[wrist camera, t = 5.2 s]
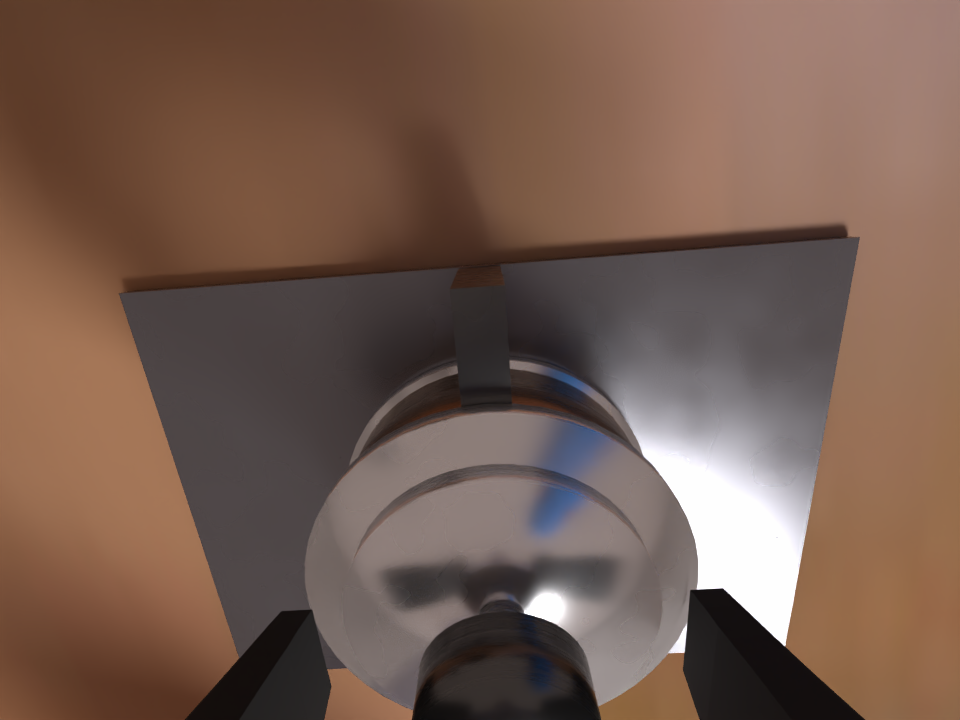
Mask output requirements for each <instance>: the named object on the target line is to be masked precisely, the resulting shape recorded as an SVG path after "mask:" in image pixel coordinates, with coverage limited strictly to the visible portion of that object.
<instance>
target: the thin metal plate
mask: <svg viewBox="0 0 960 720" xmlns="http://www.w3.org/2000/svg"><path fill="white" fill-rule="evenodd" d="M859 238H860V237H837V238H824V239H811V240H798V241H785V242H772V243H758V244H745V245H732V246H719V247H706V248H693V249H680V250H666V251H653V252H640V253H627V254H614V255H601V256H588V257H574V258H561V259H548V260H535V261H522V262H509V263H495V264H482V265H469V266H456V267H443V268H430V269H417V270H403V271H390V272H377V273H364V274H351V275H338V276H325V277H311V278H298V279H285V280H272V281H259V282H246V283H233V284H219V285H206V286H193V287H180V288H167V289H154V290H140V291H128V292H124V293H119V295H120V298H121V301H122V304H123V307H124V310H125V313H126V316H127V319H128V322H129V325H130V328H131V332H132V335H133V338H134V341H135V344H136V347H137V350H138V353H139V356H140V359H141V362H142V365H143V368H144V371H145V374H146V377H147V380H148V383H149V386H150V389H151V392H152V395H153V398H154V401H155V404H156V407H157V410H158V413H159V416H160V419H161V422H162V425H163V428H164V431H165V434H166V437H167V440H168V444H169V447H170V450H171V453H172V456H173V459H174V462H175V465H176V468H177V471H178V474H179V477H180V480H181V483H182V486H183V489H184V492H185V495H186V498H187V501H188V504H189V507H190V510H191V513H192V516H193V519H194V522H195V525H196V528H197V531H198V534H199V537H200V540H201V543H202V546H203V549H204V552H205V556H206V559H207V562H208V565H209V568H210V571H211V574H212V577H213V580H214V583H215V586H216V589H217V592H218V595H219V598H220V601H221V604H222V607H223V610H224V613H225V616H226V619H227V622H228V625H229V628H230V631H231V634H232V637H233V640H234V643H235V646H236V649H237V652H238V655H239V658H240V657H241V656H242V655H243V654H244V653H245V651H246V650H247V649H248V648H249V647H250V646H251V645H252V643H253V642H254V641H255V640H256V639H257V638H258V637H259V635H260V634H261V633H262V632H263V631H264V630H265V629H266V627H267V626H268V625H269V624H270V623H271V622H272V621H273V620H274V619H275V617H276V616H277V615H278V614H279V613H280V612H281V611H292V610H311V609H312V611H313V615H314V619H315V623H316V627H317V631H318V635H319V639H320V643H321V647H322V651H323V655H324V659H325V663H326V667H327V669H341V668H348V669H349V670H350V671H351V672H352V673H353V674H354V675H355V676H357V677H358V678H359V679H360V680H361V681H363V682H364V683H365V684H366V685H368V686H369V687H371V688H372V689H374V690H375V691H377V692H378V693H380V694H381V695H383V696H384V697H386V698H388V699H390V700H392V701H394V702H396V703H398V704H400V705H402V706H404V707H406V708H409V709H411V710H413V709H414V708H412V707H410V706H408V705H407V704H405V703H403V702H402V701H400V700H399V699H397V698H396V697H394V696H393V695H391V694H390V693H389V692H387V691H386V690H385V689H384V688H383V687H381V686H380V685H379V684H378V683H377V682H376V681H375V680H374V679H373V678H372V677H371V676H370V674H369V673H368V672H367V671H366V670H365V669H364V667H363V666H362V664H361V663H360V661H359V660H358V658H357V657H356V655H355V653H354V651H353V649H352V647H351V645H350V643H349V640H348V637H347V634H346V630H345V627H344V620H343V613H342V602H343V591H344V586H345V581H346V577H347V575H348V572H349V569H350V567H351V564H352V561H353V559H354V556H355V553H356V551H357V548H358V546H359V543H360V540H361V539H362V537H363V535H364V534H365V532H366V530H367V529H368V527H369V525H370V524H371V523H372V522H373V520H374V519H375V518H376V517H377V516H378V514H379V513H380V512H381V511H382V510H383V509H384V508H385V507H386V506H387V505H389V504H390V503H391V502H392V501H393V500H394V499H395V498H397V497H398V496H400V495H401V494H403V493H404V492H405V491H407V490H408V489H410V488H412V487H414V486H415V485H417V484H419V483H421V482H423V481H425V480H427V479H429V478H432V477H435V476H438V475H440V474H443V473H446V472H449V471H453V470H457V469H461V468H465V467H470V466H479V465H487V464H516V465H525V466H534V467H538V468H543V469H547V470H551V471H555V472H558V473H561V474H564V475H566V476H569V477H572V478H575V479H577V480H579V481H581V482H582V483H584V484H586V485H588V486H590V487H592V488H594V489H595V490H597V491H598V492H600V493H601V494H603V495H604V496H605V497H607V498H608V499H610V500H611V501H612V502H613V503H614V504H615V505H616V506H617V507H618V508H619V509H620V510H622V511H623V513H624V514H625V515H626V516H627V518H628V519H629V520H630V521H631V522H632V524H633V525H634V526H635V528H636V530H637V532H638V533H639V535H640V537H641V538H642V540H643V542H644V544H645V547H646V549H647V551H648V553H649V555H650V557H651V559H652V561H653V564H654V566H655V569H656V572H657V574H658V577H659V581H660V586H661V591H662V617H661V624H660V629H659V632H658V635H657V638H656V641H655V644H654V645H653V647H652V649H651V651H650V653H649V655H648V657H647V659H646V660H645V661H644V663H643V664H642V666H641V667H640V669H639V670H638V671H637V672H636V673H635V674H634V675H633V677H632V678H631V679H630V680H629V681H628V682H627V683H626V684H625V685H624V686H622V687H621V688H620V689H619V690H618V691H616V692H615V693H614V694H613V695H611V696H610V697H608V698H607V699H605V700H604V701H602V702H600V703H599V704H598V706H600V705H602V704H604V703H606V702H608V701H610V700H612V699H614V698H616V697H617V696H619V695H620V694H622V693H624V692H625V691H627V690H628V689H630V688H631V687H633V686H634V685H636V684H637V683H638V682H639V681H641V680H642V679H643V678H644V677H645V676H647V675H648V674H649V673H650V672H651V671H652V670H653V669H654V668H655V667H656V666H657V665H658V664H659V663H660V662H661V661H662V660H663V659H664V658H665V657H666V656H667V654H668V653H683V652H685V643H686V632H687V620H688V609H689V598H690V590H696V589H716V588H724V589H725V590H726V591H727V592H728V593H729V594H730V595H731V596H732V597H733V598H734V599H736V600H737V601H738V602H739V603H740V604H741V605H742V606H743V607H744V608H745V609H746V610H747V611H748V612H749V613H750V614H751V615H752V616H753V617H754V618H755V619H756V620H758V621H759V622H760V623H761V624H762V625H763V626H764V627H765V628H766V629H767V630H768V631H769V632H770V633H771V634H772V635H773V636H774V637H775V638H776V639H777V640H779V641H780V642H781V643H782V644H783V645H784V646H785V643H786V637H787V632H788V626H789V621H790V615H791V610H792V604H793V599H794V594H795V588H796V583H797V577H798V572H799V566H800V561H801V555H802V550H803V544H804V539H805V533H806V528H807V522H808V517H809V512H810V506H811V501H812V495H813V490H814V484H815V479H816V473H817V468H818V462H819V457H820V451H821V446H822V441H823V435H824V430H825V424H826V419H827V413H828V408H829V402H830V397H831V391H832V386H833V380H834V375H835V369H836V364H837V359H838V353H839V348H840V342H841V337H842V331H843V326H844V320H845V315H846V309H847V304H848V298H849V293H850V288H851V282H852V277H853V271H854V266H855V260H856V255H857V249H858V244H859Z"/></svg>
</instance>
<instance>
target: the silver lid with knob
mask: <svg viewBox="0 0 960 720" xmlns="http://www.w3.org/2000/svg"><path fill="white" fill-rule="evenodd" d="M342 613H343V620H344V627H345V630H346V634H347V637H348V640H349V643H350V645H351V647H352V649H353V651H354V653H355V655H356V657H357V658H358V660H359V661H360V663H361V664H362V666H363V667H364V669H365V670H366V671H367V672H368V673H369V674H370V676H371V677H372V678H373V679H374V680H375V681H376V682H377V683H378V684H379V685H380V686H381V687H383V688H384V689H385V690H386V691H387V692H389V693H390V694H391V695H393V696H394V697H396V698H397V699H399V700H400V701H402V702H403V703H405V704H407V705H408V706H410V707H412V708H414V709H413V716H412V720H601V717H600V712H599V708H598V704H599V703H600V702H602V701H604V700H605V699H607V698H608V697H610V696H611V695H613V694H614V693H615V692H616V691H618V690H619V689H620V688H621V687H622V686H624V685H625V684H626V683H627V682H628V681H629V680H630V679H631V678H632V677H633V675H634V674H635V673H636V672H637V671H638V670H639V669H640V667H641V666H642V664H643V663H644V661H645V660H646V659H647V657H648V655H649V653H650V651H651V649H652V647H653V645H654V644H655V641H656V638H657V635H658V632H659V629H660V624H661V617H662V591H661V586H660V581H659V577H658V574H657V572H656V569H655V566H654V564H653V561H652V559H651V557H650V555H649V553H648V551H647V549H646V547H645V544H644V542H643V540H642V538H641V537H640V535H639V533H638V532H637V530H636V528H635V526H634V525H633V524H632V522H631V521H630V520H629V519H628V518H627V516H626V515H625V514H624V513H623V511H622V510H620V509H619V508H618V507H617V506H616V505H615V504H614V503H613V502H612V501H611V500H610V499H608V498H607V497H605V496H604V495H603V494H601V493H600V492H598V491H597V490H595V489H594V488H592V487H590V486H588V485H586V484H584V483H582V482H581V481H579V480H577V479H575V478H572V477H569V476H566V475H564V474H561V473H558V472H555V471H551V470H547V469H543V468H538V467H534V466H525V465H516V464H487V465H479V466H470V467H465V468H461V469H457V470H453V471H449V472H446V473H443V474H440V475H438V476H435V477H432V478H429V479H427V480H425V481H423V482H421V483H419V484H417V485H415V486H414V487H412V488H410V489H408V490H407V491H405V492H404V493H403V494H401V495H400V496H398V497H397V498H395V499H394V500H393V501H392V502H391V503H390V504H389V505H387V506H386V507H385V508H384V509H383V510H382V511H381V512H380V513H379V514H378V516H377V517H376V518H375V519H374V520H373V522H372V523H371V524H370V525H369V527H368V529H367V530H366V532H365V534H364V535H363V537H362V539H361V540H360V543H359V546H358V548H357V551H356V553H355V556H354V559H353V561H352V564H351V567H350V569H349V572H348V575H347V577H346V581H345V586H344V591H343V602H342Z"/></svg>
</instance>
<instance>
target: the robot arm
mask: <svg viewBox="0 0 960 720" xmlns="http://www.w3.org/2000/svg"><path fill="white" fill-rule="evenodd" d="M683 671H684V674H685V677H686V680H687V683H688V686H689V689H690V692H691V695H692V698H693V701H694V704H695V707H696V710H697V713H698V716H699V719H700V720H865V719H864V718H863V717H861V716H860V715H859V714H858V713H857V712H856V711H855V710H854V709H853V708H851V707H850V706H849V705H848V704H847V703H846V702H845V701H844V700H843V699H841V698H840V697H839V696H838V695H837V694H836V693H835V692H834V691H833V690H831V689H830V688H829V687H828V686H827V685H826V684H825V683H824V682H823V681H821V680H820V679H819V678H818V677H817V676H816V675H815V674H814V673H813V672H812V671H811V670H809V669H808V668H807V667H806V666H805V665H804V664H803V663H802V662H801V661H800V660H799V659H798V658H797V657H796V656H794V655H793V654H792V653H791V652H790V651H789V650H788V649H787V648H786V647H785V646H784V645H783V644H782V643H781V642H780V641H779V640H777V639H776V638H775V637H774V636H773V635H772V634H771V633H770V632H769V631H768V630H767V629H766V628H765V627H764V626H763V625H762V624H761V623H760V622H759V621H758V620H756V619H755V618H754V617H753V616H752V615H751V614H750V613H749V612H748V611H747V610H746V609H745V608H744V607H743V606H742V605H741V604H740V603H739V602H738V601H737V600H736V599H734V598H733V597H732V596H731V595H730V594H729V593H728V592H727V591H726V590H725V589H724V588H716V589H696V590H690V598H689V609H688V620H687V632H686V643H685V654H684V665H683ZM330 690H331V683H330V679H329V675H328V671H327V667H326V663H325V659H324V655H323V651H322V647H321V643H320V639H319V635H318V631H317V627H316V623H315V619H314V615H313V611H312V609H311V610H292V611H281V612H280V613H279V614H278V615H277V616H276V617H275V619H274V620H273V621H272V622H271V623H270V624H269V625H268V626H267V627H266V629H265V630H264V631H263V632H262V633H261V634H260V635H259V637H258V638H257V639H256V640H255V641H254V642H253V643H252V645H251V646H250V647H249V648H248V649H247V650H246V651H245V653H244V654H243V655H242V656H241V657H240V658H239V659H238V661H237V662H236V663H235V664H234V665H233V666H232V667H231V669H230V670H229V671H228V672H227V673H226V674H225V675H224V677H223V678H222V679H221V680H220V681H219V682H218V683H217V685H216V686H215V687H214V688H213V689H212V690H211V691H210V692H209V693H208V695H207V696H206V697H205V698H204V699H203V700H202V701H201V702H200V703H199V705H198V706H197V707H196V708H195V709H194V710H193V711H192V712H191V713H190V714H189V716H188V717H187V718H186V719H185V720H324V718H325V713H326V708H327V704H328V699H329V695H330Z"/></svg>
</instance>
